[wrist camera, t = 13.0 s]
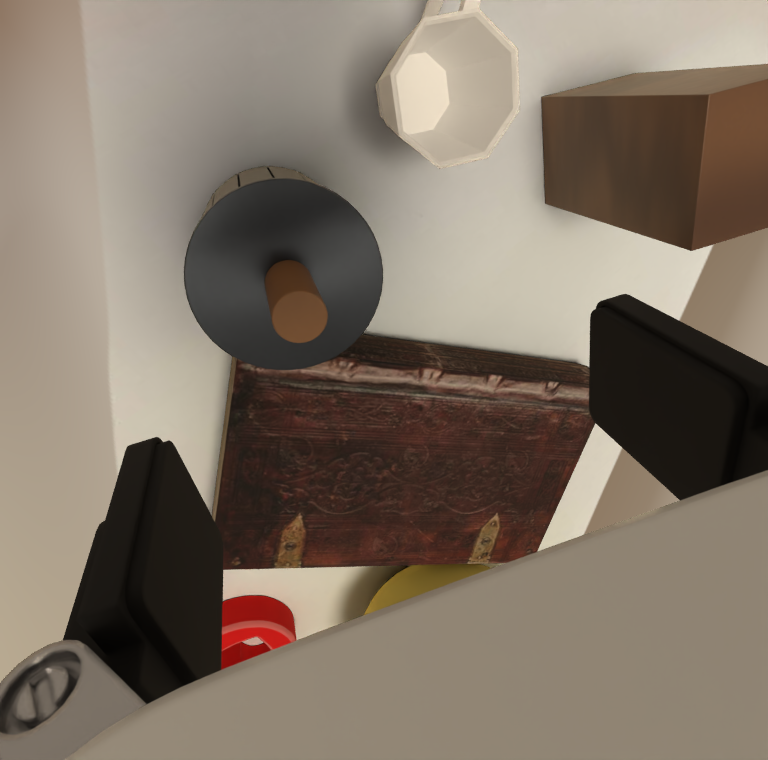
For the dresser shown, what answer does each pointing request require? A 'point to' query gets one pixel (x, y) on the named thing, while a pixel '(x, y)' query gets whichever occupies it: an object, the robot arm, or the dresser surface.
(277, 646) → the decorative ornament
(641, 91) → the stand
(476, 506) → the book
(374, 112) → the dresser surface
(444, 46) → the cup
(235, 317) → the lid
